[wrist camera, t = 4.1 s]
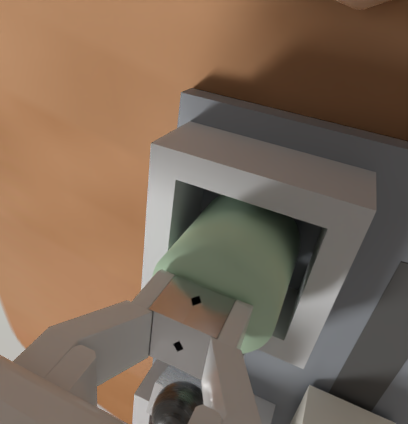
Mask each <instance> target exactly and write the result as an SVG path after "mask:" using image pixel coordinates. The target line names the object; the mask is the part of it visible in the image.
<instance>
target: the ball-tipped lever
mask: <svg viewBox="0 0 408 424" xmlns="http://www.w3.org/2000/svg"><path fill="white" fill-rule="evenodd" d="M245 354H246V353H244V354H242V355H243V358H244V357H245ZM202 404H203V394H202V385H201V380H199V379H197V378H195V377H194V376H192V375H190V374H188V373H186V372H184V371H182V370H180V369H178V368H176V367H174V366H171V365H169V366H168V368H167V369H166V370H165V371H164V372H163V374H162V375H161V376H160V377H159V378H158V379H157V381H156V382H155V384H154V387H153V391H152V394H151V397H150V400H149V404H148V407H147V410H146V413H148V414H150V415H152V424H188V422H189V420H190V418H191V416H192V414H193V412H194V409H195V407H197V406H199V405H202ZM203 405H204V404H203Z"/></svg>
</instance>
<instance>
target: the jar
mask: <svg viewBox="0 0 408 424" xmlns="http://www.w3.org/2000/svg"><path fill="white" fill-rule="evenodd" d="M335 1H337V2H339V3H342V4H344V5H347V6H349V7H351V8H354V9H356V10H363V9H366V8H369V7H372V6H375V5H378V4H381V3H384V2H387V1H390V0H335Z"/></svg>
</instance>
